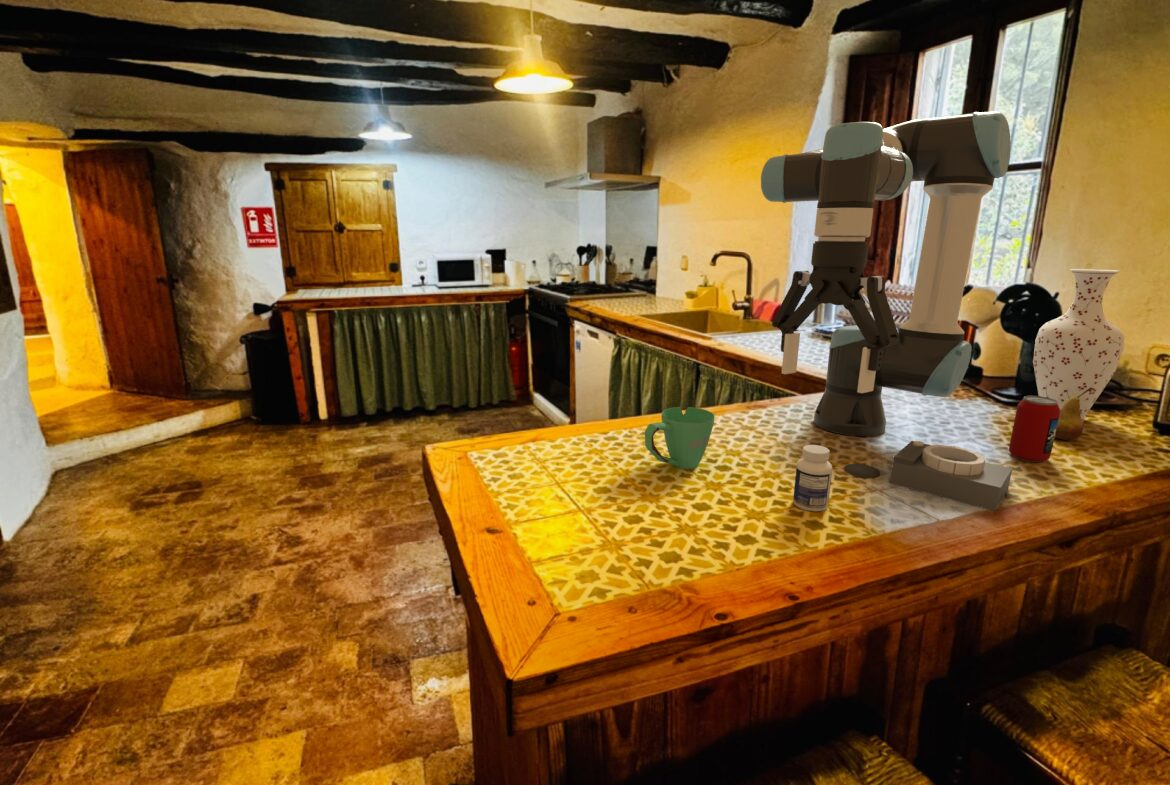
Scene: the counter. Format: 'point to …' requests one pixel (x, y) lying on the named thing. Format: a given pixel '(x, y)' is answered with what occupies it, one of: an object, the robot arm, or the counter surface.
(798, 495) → the pill bottle
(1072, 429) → the fruit
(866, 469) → the lens cap
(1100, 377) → the vase
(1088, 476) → the counter surface
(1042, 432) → the beverage can
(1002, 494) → the camera body
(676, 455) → the mug
